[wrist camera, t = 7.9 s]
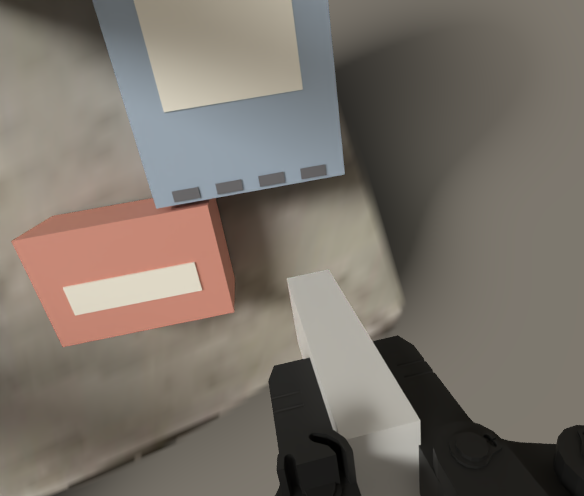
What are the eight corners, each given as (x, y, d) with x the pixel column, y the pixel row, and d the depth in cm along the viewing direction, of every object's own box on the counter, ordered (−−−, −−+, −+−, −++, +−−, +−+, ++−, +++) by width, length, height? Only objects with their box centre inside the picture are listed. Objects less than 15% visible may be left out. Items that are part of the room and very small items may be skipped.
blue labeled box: (171, 188, 21) (156, 209, 17) (80, -133, 15) (24, -216, 11) (325, 161, 21) (345, 174, 17) (288, -158, 16) (305, -245, 12)
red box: (91, 307, 23) (61, 348, 19) (52, 216, 20) (10, 241, 17) (235, 279, 23) (234, 313, 19) (213, 187, 21) (207, 205, 17)
